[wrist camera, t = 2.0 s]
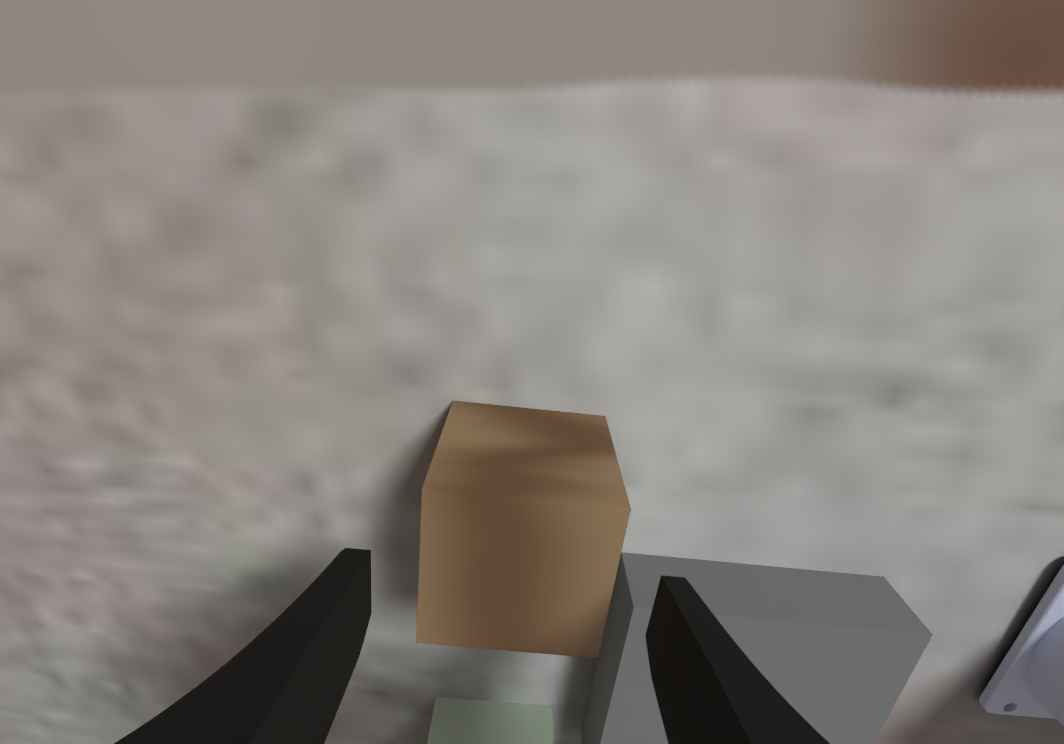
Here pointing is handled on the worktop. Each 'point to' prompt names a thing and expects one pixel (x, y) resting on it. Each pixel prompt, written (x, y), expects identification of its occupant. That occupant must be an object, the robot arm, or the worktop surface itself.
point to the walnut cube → (520, 531)
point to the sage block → (489, 722)
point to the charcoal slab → (764, 645)
